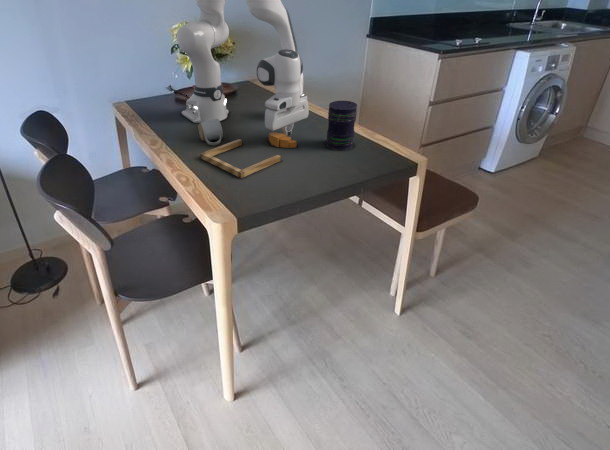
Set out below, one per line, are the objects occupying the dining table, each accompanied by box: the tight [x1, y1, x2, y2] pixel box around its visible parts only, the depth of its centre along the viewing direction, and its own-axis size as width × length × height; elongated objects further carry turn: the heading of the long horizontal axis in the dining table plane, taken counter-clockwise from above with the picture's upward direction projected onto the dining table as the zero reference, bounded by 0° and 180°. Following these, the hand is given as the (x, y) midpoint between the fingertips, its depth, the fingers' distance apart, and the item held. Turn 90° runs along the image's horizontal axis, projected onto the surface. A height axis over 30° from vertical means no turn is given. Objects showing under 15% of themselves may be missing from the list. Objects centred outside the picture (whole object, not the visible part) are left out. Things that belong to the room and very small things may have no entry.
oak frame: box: [200, 138, 282, 179], centre depth 145 cm, size 22×18×2 cm
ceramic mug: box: [197, 119, 224, 146], centre depth 158 cm, size 11×8×8 cm
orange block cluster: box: [268, 131, 297, 149], centre depth 155 cm, size 14×6×4 cm, turn 42°
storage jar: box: [326, 100, 358, 151], centre depth 149 cm, size 10×10×15 cm
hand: (287, 135), depth 157 cm, fingers closed
